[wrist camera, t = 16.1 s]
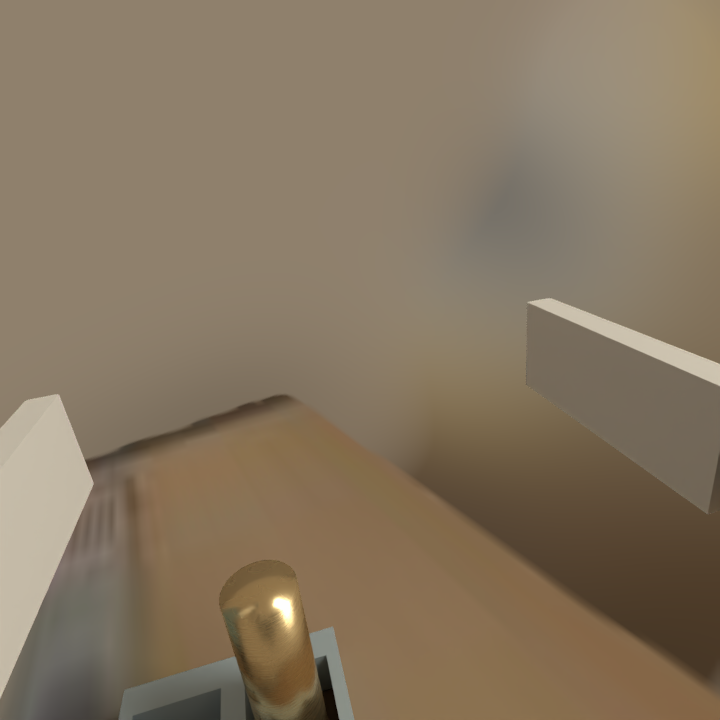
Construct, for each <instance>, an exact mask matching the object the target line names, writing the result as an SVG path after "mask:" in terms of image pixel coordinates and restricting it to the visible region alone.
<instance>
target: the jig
mask: <svg viewBox="0 0 720 720" xmlns="http://www.w3.org/2000/svg"><path fill="white" fill-rule="evenodd" d="M309 636H310V640H311V645H312V649H313V654H314V658H315V663H316V667H317V672H318V676H319V680H320V685H321V689H322V691H324V690H327V689H330V688H333V691H334V696H335V701H336V706H337V711H338V716H339V720H354V717H353V712H352V708H351V703H350V699H349V695H348V690H347V686H346V682H345V677H344V673H343V669H342V664H341V660H340V655H339V651H338V647H337V642H336V638H335V634H334V629H333V627H330V628H327V629H324V630H320V631H317V632H314V633H310V634H309ZM118 720H255V718H254V715H253V712H252V709H251V705H250V702H249V699H248V696H247V693H246V689H245V686H244V683H243V680H242V676H241V673H240V670H239V667H238V664H237V660H236V657H231V658H228V659H225V660H221V661H218V662H215V663H211V664H208V665H205V666H202V667H198V668H195V669H192V670H188V671H185V672H182V673H179V674H175V675H172V676H169V677H165V678H162V679H159V680H155V681H152V682H149V683H146V684H142V685H139V686H136V687H132V688H129V689H126V690H124V694H123V699H122V704H121V709H120V714H119V719H118Z"/></svg>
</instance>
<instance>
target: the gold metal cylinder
mask: <svg viewBox="0 0 720 720" xmlns="http://www.w3.org/2000/svg"><path fill="white" fill-rule="evenodd" d="M219 605H220V609H221V612H222V615H223V619H224V622H225V625H226V628H227V631H228V635H229V638H230V641H231V644H232V648H233V651H234V654H235V657H236V660H237V664H238V667H239V670H240V673H241V676H242V680H243V683H244V686H245V689H246V693H247V696H248V699H249V702H250V705H251V709H252V712H253V715H254V718H255V720H328V716H327V712H326V707H325V703H324V698H323V694H322V689H321V685H320V680H319V676H318V672H317V667H316V663H315V658H314V654H313V649H312V645H311V640H310V636H309V631H308V627H307V622H306V618H305V613H304V609H303V604H302V600H301V595H300V591H299V587H298V582H297V578H296V574H295V572H294V571H293V569H292V568H291V567H290V566H288V565H287V564H285V563H283V562H280V561H276V560H263V561H258V562H254V563H251V564H249V565H247V566H245V567H243V568H241V569H240V570H238V571H237V572H236V573H234V574H233V575H232V576H231V577H230V578H229V579H228V580H227V582H226V583H225V585H224V586H223V588H222V590H221V593H220V597H219Z"/></svg>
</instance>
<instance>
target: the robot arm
mask: <svg viewBox="0 0 720 720" xmlns="http://www.w3.org/2000/svg"><path fill="white" fill-rule="evenodd" d="M526 358H527V360H526V385H527V386H529V387H530V388H532V389H533V390H534V391H536V392H537V393H539V394H540V395H541V396H543V397H544V398H546V399H547V400H548V401H550V402H551V403H553V404H554V405H556V406H557V407H558V408H560V409H561V410H563V411H564V412H565V413H567V414H568V415H569V416H571V417H572V418H574V419H575V420H576V421H578V422H579V423H581V424H582V425H583V426H585V427H586V428H588V429H589V430H591V431H592V432H593V433H595V434H596V435H597V436H599V437H600V438H602V439H603V440H605V441H606V442H607V443H609V444H610V445H611V446H613V447H614V448H616V449H617V450H618V451H620V452H621V453H623V454H624V455H626V456H627V457H628V458H630V459H631V460H632V461H634V462H635V463H637V464H638V465H640V466H641V467H642V468H644V469H645V470H647V471H648V472H649V473H651V474H652V475H654V476H655V477H656V478H658V479H659V480H661V481H662V482H664V483H665V484H666V485H668V486H669V487H670V488H672V489H673V490H675V491H676V492H677V493H679V494H680V495H682V496H683V497H684V498H686V499H687V500H689V501H690V502H691V503H693V504H694V505H696V506H697V507H698V508H700V509H701V510H703V511H704V512H706V513H707V514H710V513H713V512H716V511H720V364H718V363H716V362H713V361H711V360H708V359H705V358H703V357H700V356H698V355H695V354H693V353H690V352H687V351H685V350H682V349H680V348H677V347H675V346H672V345H670V344H667V343H664V342H662V341H659V340H657V339H654V338H652V337H649V336H646V335H644V334H641V333H639V332H636V331H634V330H631V329H629V328H626V327H623V326H620V325H618V324H616V323H613V322H611V321H608V320H605V319H603V318H600V317H598V316H595V315H593V314H590V313H587V312H585V311H582V310H579V309H577V308H575V307H572V306H570V305H567V304H564V303H562V302H559V301H557V300H554V299H551V298H547V299H541V300H537V301H531V302H527V357H526ZM93 484H94V483H93V481H92V478H91V475H90V473H89V470H88V468H87V465H86V463H85V460H84V458H83V455H82V452H81V450H80V447H79V445H78V442H77V440H76V437H75V435H74V432H73V429H72V427H71V424H70V422H69V419H68V417H67V414H66V412H65V409H64V406H63V404H62V402H61V399H60V396H59V394H56V395H50V396H45V397H40V398H35V399H31V400H26V401H25V402H24V403H23V404H22V405H21V406H20V407H19V408H18V409H17V411H16V412H15V413H14V414H13V415H12V416H11V417H10V418H9V420H8V421H7V422H6V423H5V424H4V425H3V426H2V427H1V429H0V698H1V695H2V693H3V691H4V689H5V686H6V684H7V682H8V679H9V677H10V675H11V672H12V670H13V668H14V666H15V663H16V661H17V659H18V656H19V654H20V652H21V650H22V647H23V645H24V643H25V640H26V638H27V636H28V633H29V631H30V629H31V627H32V624H33V622H34V620H35V617H36V615H37V613H38V610H39V608H40V606H41V604H42V601H43V599H44V597H45V594H46V592H47V590H48V587H49V585H50V583H51V581H52V578H53V576H54V574H55V571H56V569H57V567H58V565H59V562H60V560H61V558H62V555H63V553H64V551H65V548H66V546H67V544H68V542H69V539H70V537H71V535H72V532H73V530H74V528H75V525H76V523H77V521H78V519H79V516H80V514H81V512H82V509H83V507H84V505H85V503H86V500H87V498H88V496H89V493H90V491H91V489H92V486H93Z"/></svg>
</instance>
